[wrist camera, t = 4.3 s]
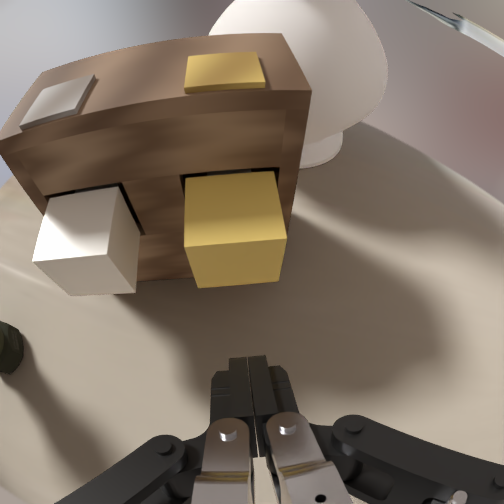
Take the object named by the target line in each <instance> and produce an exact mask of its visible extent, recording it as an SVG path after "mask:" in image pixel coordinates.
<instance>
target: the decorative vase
mask: <svg viewBox="0 0 504 504" xmlns="http://www.w3.org/2000/svg"><path fill="white" fill-rule="evenodd" d="M243 33H282V35H283V36H284V38H285V40H286V42H287V44H288V45H289V47H290V49H291V51H292V53H293V54H294V56H295V58H296V60H297V62H298V64H299V66H300V67H301V69H302V71H303V73H304V75H305V77H306V79H307V81H308V83H309V85H310V87H311V89H312V95H311V101H310V107H309V114H308V120H307V126H306V132H305V138H304V144H303V150H302V156H301V161H300V167H299V168H309V167H314V166H318V165H321V164H324V163H326V162H328V161H329V160H331V159H332V158H334V157H335V156H336V155H337V154H338V152H339V151H340V149H341V146H342V142H343V132H342V131H343V130H345V129H347V128H349V127H351V126H353V125H355V124H357V123H358V122H360V121H362V120H363V119H364V118H366V117H367V116H368V115H370V114H371V113H372V112H373V111H374V110H375V109H376V107H377V106H378V105H379V103H380V101H381V99H382V97H383V95H384V92H385V89H386V85H387V77H388V66H387V60H386V55H385V52H384V49H383V46H382V44H381V41H380V39H379V37H378V35H377V33H376V31H375V29H374V27H373V25H372V23H371V22H370V20H369V19H368V17H367V16H366V14H365V13H364V12H363V10H362V9H361V7H360V6H359V5H358V4H357V2H356V1H355V0H235V1H234V2H233V3H232V4H231V5H230V6H229V7H228V8H227V9H226V10H225V11H224V13H223V14H222V15H221V16H220V18H219V19H218V20H217V22H216V23H215V25H214V26H213V28H212V30H211V31H210V33H209V35H208V36H210V35H223V34H243Z"/></svg>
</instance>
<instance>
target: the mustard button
mask: <svg viewBox="0 0 504 504" xmlns="http://www.w3.org/2000/svg"><path fill="white" fill-rule="evenodd" d="M286 242H287V235H286V230H285V225H284V219H283V214H282V209H281V204H280V199H279V194H278V189H277V185H276V180H275V175H274V171H267V172H251V168H248V169H234V170H222V171H210V172H207V176H202V177H192V178H186V182H185V217H184V248H185V251H186V254H187V257H188V260H189V263H190V266H191V269H192V272H193V275H194V278H195V281H196V283H197V286H198V288H208V287H220V286H232V285H244V284H255V283H266V282H276V281H279V276H280V271H281V267H282V262H283V257H284V252H285V247H286Z"/></svg>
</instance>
